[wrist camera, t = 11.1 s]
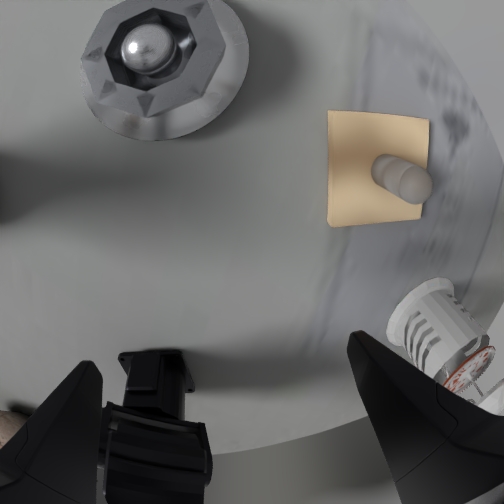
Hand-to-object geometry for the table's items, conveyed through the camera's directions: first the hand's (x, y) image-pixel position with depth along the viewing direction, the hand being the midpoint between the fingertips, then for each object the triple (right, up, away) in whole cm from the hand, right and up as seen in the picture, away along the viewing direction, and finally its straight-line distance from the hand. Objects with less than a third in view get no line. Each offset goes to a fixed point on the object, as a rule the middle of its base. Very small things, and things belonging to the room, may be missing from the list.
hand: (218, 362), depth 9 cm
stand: (+10, +10, +10) cm, 17 cm away
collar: (-4, +14, +4) cm, 15 cm away
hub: (-4, +15, +5) cm, 16 cm away
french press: (+20, -4, +19) cm, 28 cm away
